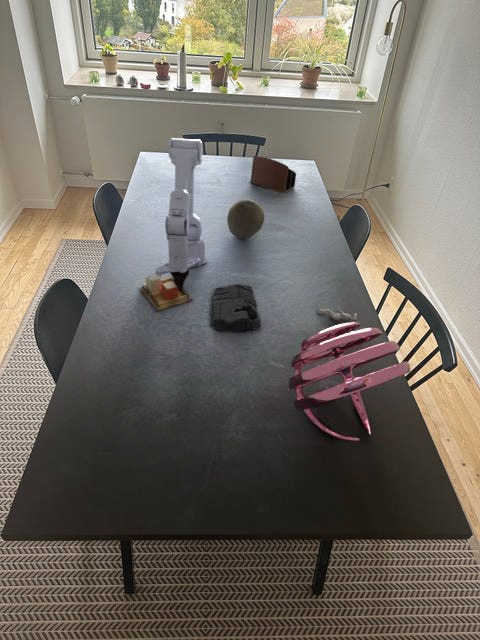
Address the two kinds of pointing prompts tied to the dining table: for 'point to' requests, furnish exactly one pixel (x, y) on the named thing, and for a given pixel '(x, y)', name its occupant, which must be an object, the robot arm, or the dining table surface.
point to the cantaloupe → (245, 218)
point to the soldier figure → (337, 314)
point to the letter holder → (272, 175)
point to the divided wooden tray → (159, 300)
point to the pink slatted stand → (341, 369)
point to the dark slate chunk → (235, 308)
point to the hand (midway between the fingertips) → (179, 288)
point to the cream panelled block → (153, 283)
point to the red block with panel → (169, 290)
